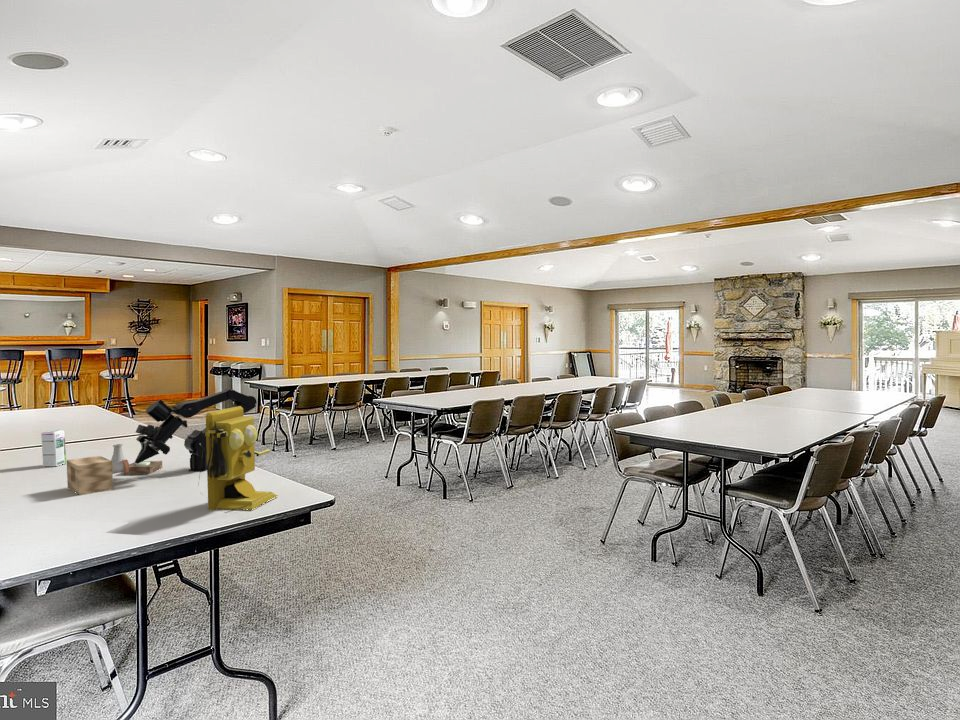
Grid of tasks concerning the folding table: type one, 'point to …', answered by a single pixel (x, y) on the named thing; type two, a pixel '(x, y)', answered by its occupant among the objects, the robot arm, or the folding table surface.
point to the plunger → (120, 467)
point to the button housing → (144, 468)
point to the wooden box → (89, 474)
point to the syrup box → (53, 448)
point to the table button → (142, 463)
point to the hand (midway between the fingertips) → (136, 462)
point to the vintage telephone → (231, 460)
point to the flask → (117, 453)
